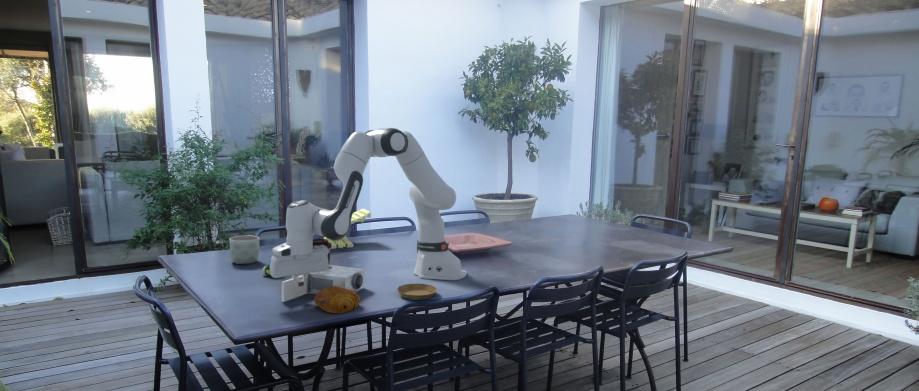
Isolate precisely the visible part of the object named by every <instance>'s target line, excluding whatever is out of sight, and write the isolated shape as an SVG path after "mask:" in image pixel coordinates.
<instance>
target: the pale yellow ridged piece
mask: <svg viewBox="0 0 919 391" xmlns="http://www.w3.org/2000/svg"><path fill="white" fill-rule="evenodd" d="M371 215H372V212H371V211H370V210H368V209H366V208H361V209H358V210H357V211H355V212H354V211H353V214H352V218H351V225H352V224H355V223H359V222H360V223H365V220H366V218H371V217H372V216H371ZM323 239H327V240H328V242H330V243H331V244H332V247H331V248H330V250H333V249H344V248H343V247H346V248H354V247H355V246H354V243H353V242H351V241H350V240H349V239H348V237H347V235H346V236H345V237H344V238H342V239H341V240H338V241H333V240H330V239H328V238H326V237H323ZM353 246H354V247H353Z"/></svg>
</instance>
